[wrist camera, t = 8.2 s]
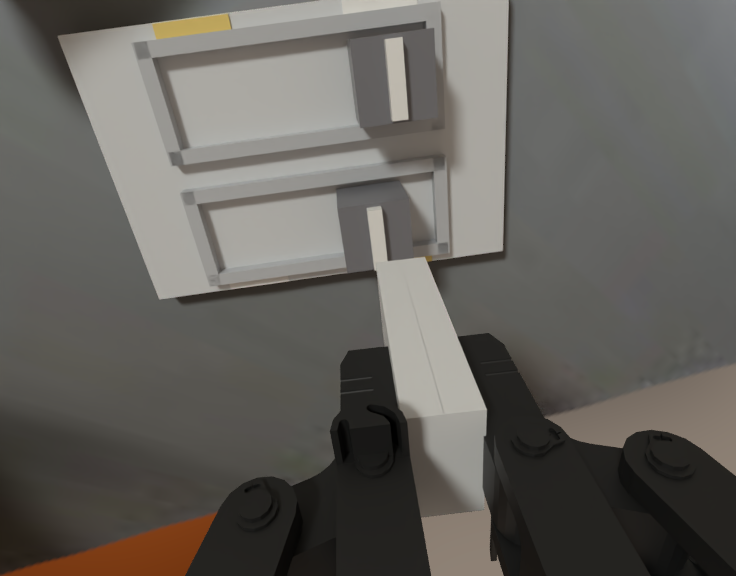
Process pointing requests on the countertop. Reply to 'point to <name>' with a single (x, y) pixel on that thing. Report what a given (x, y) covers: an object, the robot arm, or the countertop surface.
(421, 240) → the switch board
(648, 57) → the countertop surface
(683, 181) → the countertop surface
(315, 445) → the countertop surface
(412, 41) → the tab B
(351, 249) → the tab
